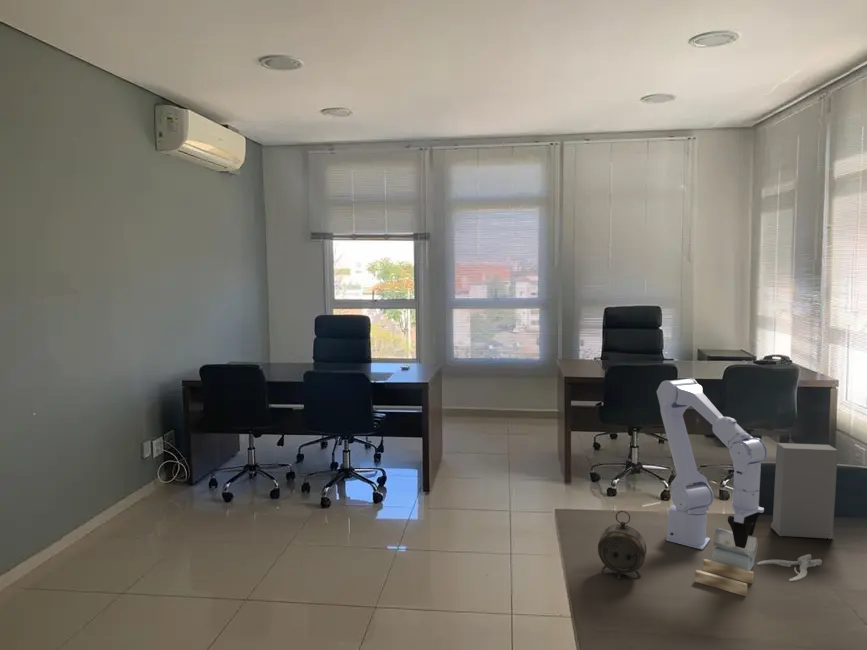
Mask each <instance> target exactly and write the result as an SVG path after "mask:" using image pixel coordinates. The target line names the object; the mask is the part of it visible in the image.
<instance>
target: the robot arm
mask: <svg viewBox="0 0 867 650" xmlns="http://www.w3.org/2000/svg"><path fill="white" fill-rule="evenodd" d="M703 391H704V390H703V386H702V385H701V384H699V383H698V382H697V380H696V379H695V378H690V377H689V378H686V379H683V378H682V379H674V380H663V381H661V383H660V384H659V386H658V388H657V390H656V395H657V400H658V403H659V408H660V415H661V418H662V423H663V428H664V431H665V434H666V438H667V442H668V446H669V450H670V453H671V457H672V461H673V465H674V468H675V472H676V476H675V477H674V479H673V480H672V481H671V483H670V487H671V500H672V503H673V504H671V505H670V507H669V510H668V514H667V527H666V529H667V530H666V532H667V533H666V539H665V540H666V541H668V542H669V543H670V542H671V543H675V544H680V545H682V546H687V547H690V548H695V549H698V550H704V548H705V547H706V545H708V543H709V542H710V541H711V538H710V537H708V536H707V515H708V514H707V512H708V511H709V509H710V506H712V505H713V503H714V500H715V495H714V491H713V490H712V489H713V488H712V487H711V486H710V484H709V482H708V479H707V477H706V476H704V475H703V474H702V473H700V472H699V471H698V468H697V464H696V463H697V462H696V460H695V457H694V453H693V449H692V444H691V441H690V437H689V433H688V430H687V427H686V423H685V419H684V413H685V412H686V410H687V409H688V408H689V407H692V408H693V409H694V410H695V411H696V412H698V413H699V415H701V416H702V417H703V418H704V419H705V420H706V421H707V422H709V424H710V425H712V428H711V429H712V433H713V434H714V435H715V436H716V437H717V438H718V439H719V440H720V441H721V442H722V443H723V444H724V445H725V446H726V447H727V449H729V450H728V451H729V452H728V453H729V455H730V458H731V461H732V468H733V470H734V472H733V489H732V490H733V491H732V492H733V493H732V502H731V508H732V510H733V513H734V514H733V515H728V517H727V522H728V524H729V526H730V528H731V531H732V532H733V537H734V542H735V546H736V547H740V548H745V547H746V544H747V540H748V535H750V536H753V535H754V532H755V528H756V524H757V522H758V518H759V517H760V514H761V513H764V512H765V508H764V507H761V506H760V487H761V484H760V483H761V470H762V469H761V468H762V466H761V465H762V462H763V461H765V460H766V458H767V456H768V450H767V446H766V445H765V443H764V442H763V440H761V438H759V437H753V436H752V435H750V434H749V433H748V432H746V431H745V430H744V429H743V428H742V427H741V426H740V425H739V424H738V423H737V420H736V419H735V418H732V417H730V416H723V414H722V413H721V412H720V411H719V410H718V409H717V408H716V406H715V405H714V404H713V403H712V402H711V400H710V399H709V398H708V397H707V396H706V394H704V392H703ZM690 484H691V485H690Z"/></svg>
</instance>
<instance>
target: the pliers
mask: <svg viewBox="0 0 867 650" xmlns="http://www.w3.org/2000/svg"><path fill="white" fill-rule="evenodd" d="M822 563H823V561H822V559H821V558H815V559H812V554H810V553H808V554H805V555H802V556H800V557H798V558H797V560H785V559H767V560H761V561H758V562H756V565H757V566H762V565H772V564H773V565H778V566H782V567H787V568H788V567H792V566H794V565H795V566H797V565H799V572H798V571H797V567H794V568H793V569H794V573H795V574H796V576H794V577H792V578H789V579H788V582H791V583H792V582H796V581H797V582H799V581H800V580H801V581H802V580H803V579H804V578H806V576H807V575H808V570H807V569H808V568H811V567H812V566H813V567H817V566H816V565H818V566H821V565H822ZM813 567H812V568H813Z"/></svg>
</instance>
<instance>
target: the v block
mask: <svg viewBox="0 0 867 650" xmlns="http://www.w3.org/2000/svg"><path fill="white" fill-rule="evenodd" d="M711 552H712V553H711V560H712V561H715V562H719V563H723V564H727V565H730V566H734V567H738V568H742V569H745V570H749V571H752V568H753V567H754V565H755V558H752V557H749V556H745V555H741V554H737V553H733V552H729V551H725V550H721V549H717V548H714V549H713V550H712V551H711Z"/></svg>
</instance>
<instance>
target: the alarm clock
mask: <svg viewBox="0 0 867 650" xmlns="http://www.w3.org/2000/svg"><path fill="white" fill-rule="evenodd" d="M620 513H625V514H626V515H627V516H628V521H627V522H625V521H621V522H620V521H619V520H618V515H619V514H620ZM615 519H616V522H617V523H619V524H613V525H610V526H608V527H606V528H605V529H604V530H603V531H602V532H601V534H600V535H601V536H600V538H599V541H598V544H597V545H598V546H597V552H598V556H599V559H600V561H601V562H602V563H603V565H604V566H603V567H601V569H602V570H605V569H606V568H608V569H609V570H611V571H612V572H614V573H616V574H617V579H618V580H620V579H621V578H622V575H629V574H630V575H631V574H633V573H635V575H637V577H638V578H641V574H640V573H639V570H640V569H641V568H642V567H643V565H644V563H645V559H646V555H647V544H646V541H645V539H644V538H643V537H644V536H642V534H641V533H640V532H639V531H638V530H636V529H635V528H633V527H631V526H630V525H627V524H629V523H630V521H631V515H630V513H628V512H627V511H626V510H619V511H617V513H615Z"/></svg>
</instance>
